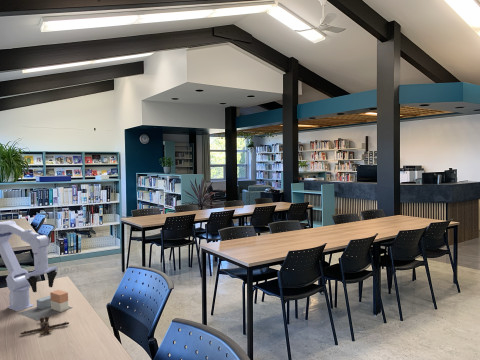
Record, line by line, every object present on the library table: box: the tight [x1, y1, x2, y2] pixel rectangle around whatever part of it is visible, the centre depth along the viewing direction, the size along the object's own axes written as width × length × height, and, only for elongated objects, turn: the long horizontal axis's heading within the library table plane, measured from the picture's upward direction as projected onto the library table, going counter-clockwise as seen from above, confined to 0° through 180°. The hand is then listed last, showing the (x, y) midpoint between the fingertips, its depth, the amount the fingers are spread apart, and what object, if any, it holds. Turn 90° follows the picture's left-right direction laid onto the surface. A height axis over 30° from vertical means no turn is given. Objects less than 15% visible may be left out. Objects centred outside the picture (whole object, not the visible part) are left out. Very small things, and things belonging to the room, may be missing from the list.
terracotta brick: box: [49, 289, 69, 303], centre depth 174 cm, size 8×4×4 cm, turn 58°
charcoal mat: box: [17, 305, 73, 322], centre depth 173 cm, size 17×17×1 cm
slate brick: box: [36, 295, 51, 310], centre depth 178 cm, size 8×4×4 cm, turn 147°
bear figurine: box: [20, 316, 70, 335], centre depth 154 cm, size 18×4×14 cm
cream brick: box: [51, 300, 69, 313], centre depth 174 cm, size 8×4×4 cm, turn 57°
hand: (42, 289), depth 172 cm, fingers open, 7 cm apart
